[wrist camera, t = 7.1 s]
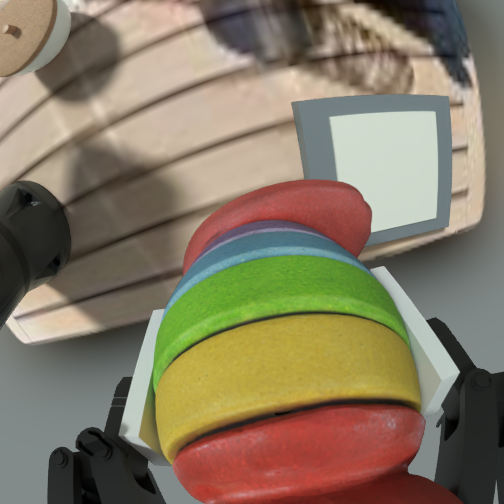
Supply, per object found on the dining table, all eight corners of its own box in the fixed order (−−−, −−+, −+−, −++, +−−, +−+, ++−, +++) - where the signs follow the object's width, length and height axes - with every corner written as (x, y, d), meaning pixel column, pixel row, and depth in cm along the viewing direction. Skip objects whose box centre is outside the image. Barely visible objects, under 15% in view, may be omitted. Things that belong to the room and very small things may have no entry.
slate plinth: (313, 245, 37) (320, 258, 34) (291, 102, 28) (298, 101, 25) (436, 218, 36) (450, 227, 33) (434, 95, 28) (450, 96, 25)
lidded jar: (19, 26, 18) (-24, 19, 10) (83, -12, 18) (46, -34, 10) (23, 90, 23) (-24, 95, 15) (88, 55, 23) (45, 44, 15)
